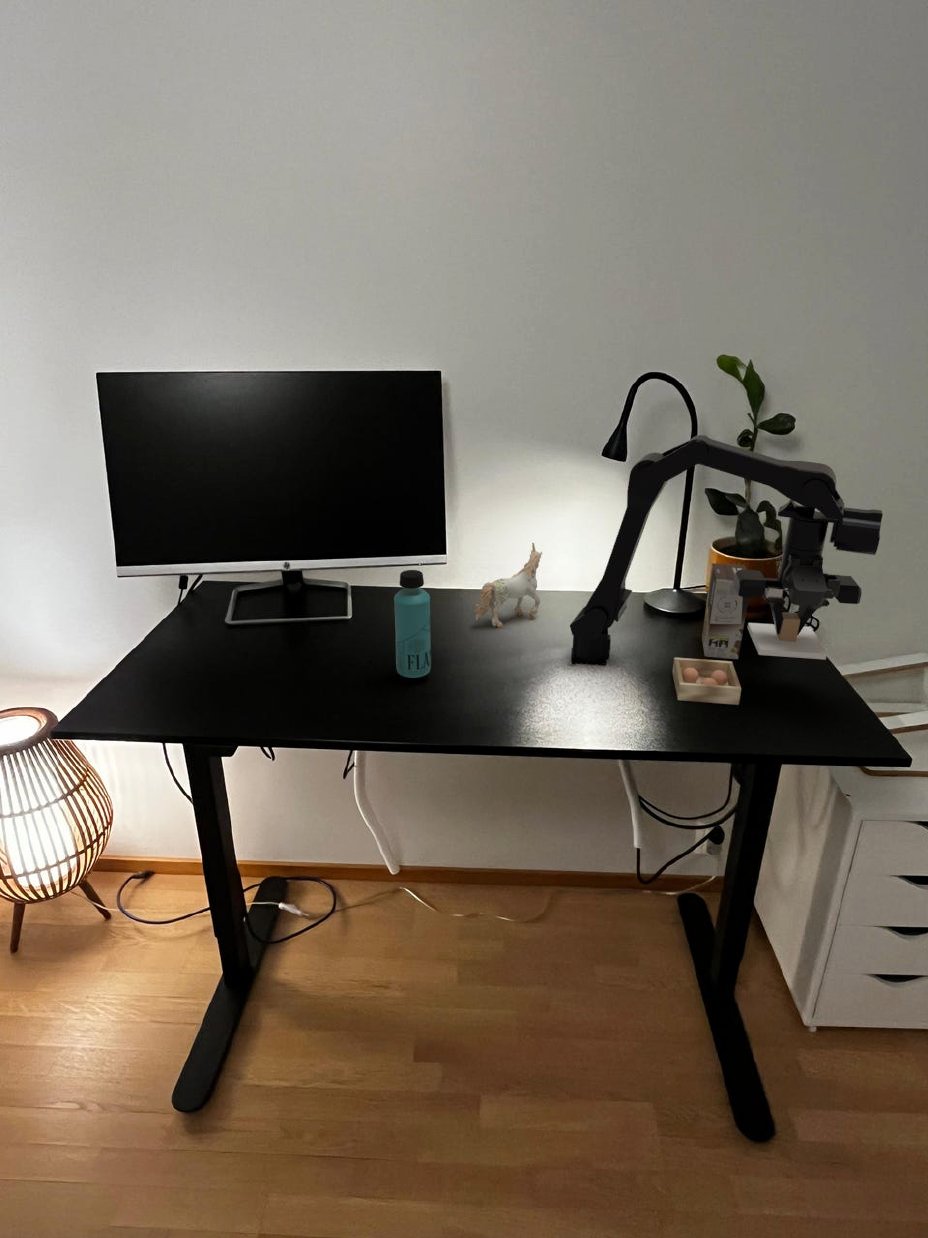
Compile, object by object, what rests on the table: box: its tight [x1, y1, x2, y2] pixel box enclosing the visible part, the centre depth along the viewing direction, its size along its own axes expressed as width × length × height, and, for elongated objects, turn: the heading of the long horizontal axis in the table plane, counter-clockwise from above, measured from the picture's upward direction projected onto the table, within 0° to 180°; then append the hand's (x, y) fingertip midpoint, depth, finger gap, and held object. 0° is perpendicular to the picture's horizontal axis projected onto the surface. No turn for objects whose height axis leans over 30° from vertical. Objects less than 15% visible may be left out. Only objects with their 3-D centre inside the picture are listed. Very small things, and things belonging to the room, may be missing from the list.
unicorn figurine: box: [474, 542, 543, 629], centre depth 166 cm, size 7×20×13 cm, turn 139°
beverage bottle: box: [393, 569, 433, 679], centre depth 141 cm, size 6×7×20 cm
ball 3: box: [711, 670, 728, 686], centre depth 141 cm, size 3×3×3 cm
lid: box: [747, 612, 828, 661], centre depth 134 cm, size 10×10×5 cm
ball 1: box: [682, 668, 699, 683], centre depth 142 cm, size 3×3×3 cm
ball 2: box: [701, 678, 718, 685], centre depth 139 cm, size 3×3×3 cm
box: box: [672, 657, 742, 706], centre depth 140 cm, size 10×10×4 cm
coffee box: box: [701, 562, 750, 660], centre depth 152 cm, size 9×6×16 cm
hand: (786, 633), depth 135 cm, fingers closed on lid, 3 cm apart
